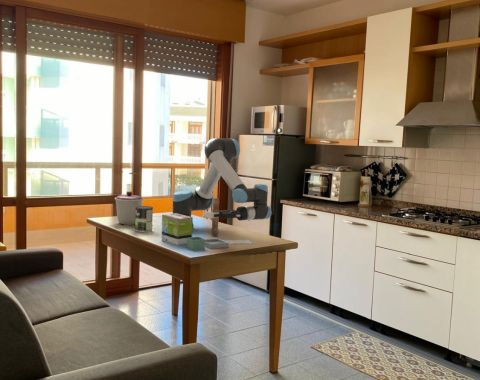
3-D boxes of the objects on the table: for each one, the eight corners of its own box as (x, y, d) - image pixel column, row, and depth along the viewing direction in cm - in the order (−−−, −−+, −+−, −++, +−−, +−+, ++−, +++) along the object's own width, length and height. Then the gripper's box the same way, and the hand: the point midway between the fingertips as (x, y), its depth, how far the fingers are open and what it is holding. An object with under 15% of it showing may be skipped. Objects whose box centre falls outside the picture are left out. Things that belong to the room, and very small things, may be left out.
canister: (133, 220, 314) (133, 189, 312) (148, 224, 302) (149, 191, 300) (108, 222, 301) (109, 190, 299) (124, 227, 289) (124, 193, 287)
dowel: (210, 236, 248) (211, 198, 246) (216, 235, 249) (217, 198, 247) (213, 237, 245) (214, 199, 243) (218, 236, 246) (220, 199, 244)
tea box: (160, 241, 255) (161, 214, 253) (175, 238, 262) (176, 212, 261) (177, 246, 244) (178, 218, 243) (192, 243, 251) (193, 216, 250)
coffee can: (137, 232, 275) (138, 208, 274) (133, 229, 284) (133, 206, 283) (154, 231, 280) (155, 208, 278) (149, 228, 289) (150, 205, 288)
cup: (186, 248, 240) (186, 237, 240) (198, 247, 244) (199, 236, 243) (191, 251, 234) (192, 240, 234) (204, 250, 238) (205, 239, 237)
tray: (199, 244, 250) (199, 239, 250) (217, 243, 256) (218, 238, 255) (209, 249, 240) (209, 244, 240) (228, 247, 245) (228, 242, 245)
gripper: (252, 222, 248) (212, 224, 237) (237, 217, 262) (199, 219, 250) (253, 208, 247) (213, 210, 236) (237, 204, 261) (199, 205, 250)
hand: (206, 215), depth 243 cm, fingers closed on dowel, 3 cm apart
